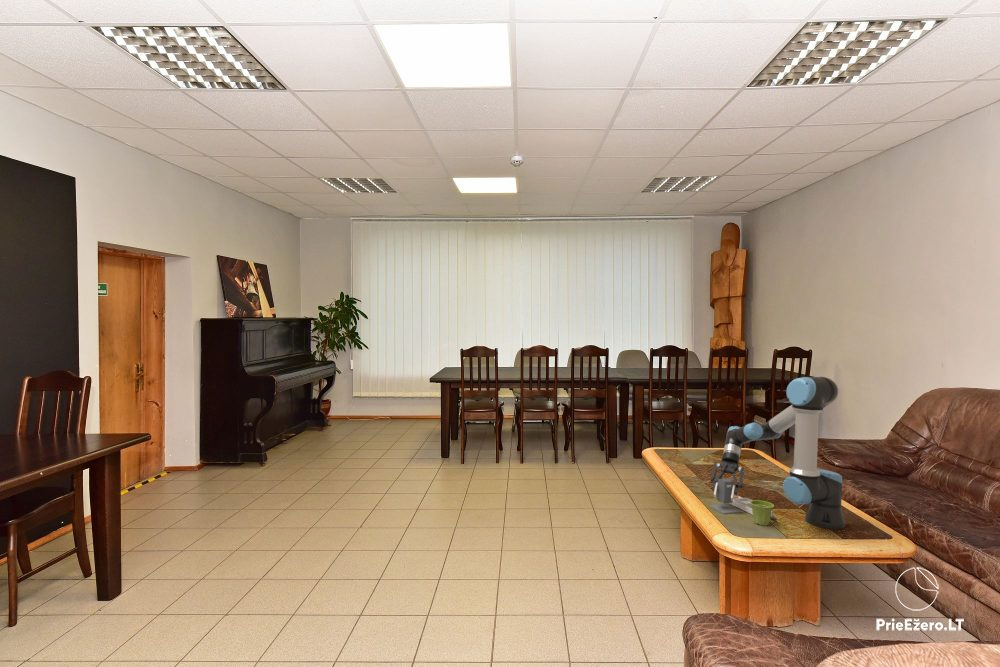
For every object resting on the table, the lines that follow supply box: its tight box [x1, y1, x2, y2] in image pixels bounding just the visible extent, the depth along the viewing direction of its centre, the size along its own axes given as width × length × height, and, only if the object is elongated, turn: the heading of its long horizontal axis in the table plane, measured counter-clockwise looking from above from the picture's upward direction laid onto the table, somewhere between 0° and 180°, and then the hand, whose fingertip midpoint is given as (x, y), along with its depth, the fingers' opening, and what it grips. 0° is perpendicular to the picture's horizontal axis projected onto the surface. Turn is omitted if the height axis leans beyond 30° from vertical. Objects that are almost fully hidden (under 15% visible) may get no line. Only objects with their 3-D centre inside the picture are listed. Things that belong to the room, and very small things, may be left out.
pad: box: [708, 503, 743, 515], centre depth 253 cm, size 10×10×1 cm
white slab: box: [728, 494, 778, 521], centre depth 253 cm, size 28×8×3 cm, turn 17°
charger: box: [716, 478, 734, 504], centre depth 253 cm, size 5×5×10 cm
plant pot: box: [750, 499, 775, 526], centre depth 237 cm, size 9×9×9 cm
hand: (723, 497), depth 250 cm, fingers closed on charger, 7 cm apart
